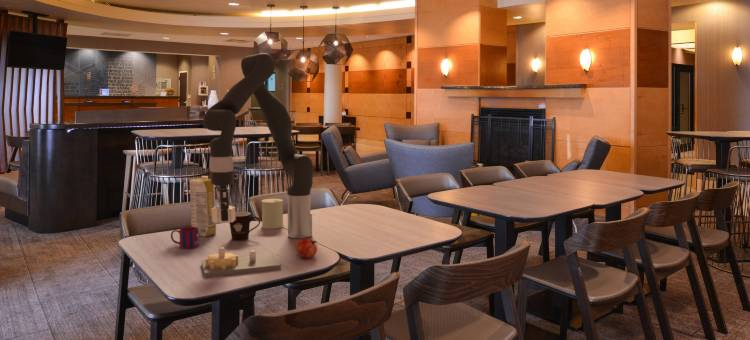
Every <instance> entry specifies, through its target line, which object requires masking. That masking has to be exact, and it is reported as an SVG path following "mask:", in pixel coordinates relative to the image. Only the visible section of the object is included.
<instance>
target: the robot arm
mask: <svg viewBox="0 0 750 340" xmlns="http://www.w3.org/2000/svg"><path fill="white" fill-rule="evenodd" d="M240 66H241V68H240V69H241V73H242V75H243V76H244V77H243V78H242V79H241V80H239V81H238V82H236V83H235V84H234V85H232V86H231V87H230V89H228V91H227V92H226V94H225V95H224V96H223V97H222V99H220V100H219V101H217V102H216V103H215V104H213V105H212V106H210V108H208V109H207V110H206V112H205V113H204V115H203V126H204V127H205V128H206V129H207V130H209V131H212V132H221V133H220V135H219V136H218V137H216V138H215V137H214V138H213V139H211V140H210V142H209V150H210V151H209V154H210V161H209V171H210V172H209V173H210V179H211V184H213V185H215V186H217V188H216V189H215V192H216V198H217V202H218V205H217V206H220V209H221V220H222V221H228V209H229V206H230V204H229V203H230V189H229V188H228V185H232V184H234V182H235V171H234V159H233V141H234V136H235V131H236V128H237V116H236V115H237V114H239V113H240V112H241V110H242V109H243V107H244V106H245V105H246V103H247V102H248V101H249V99H250V98H251V97H252V96H254V97H255V100H256V102H257V104H258V106H259V109H260V112H261V113H262V116H263V118H264V121H265V123H266V125H267V128H268V130H269V132H270V135H271V138H272V139H273V141H274V142H273V143H274V145H275V147H276V149H277V153H278V156H279V159H280V162H281V166H282V169H283V171H284V173H285V174H286V175H288V176H290V177H292V179H293V182H292V185H289V186H287V191H286V192H287V193H286V194H287V197H286V198H287V236H288V238H290V239H291V238H292V239H302V238H309V237H313V213H312V212H311V191H312V188H313V180H314V179H313V177H314V166H313V161H312V159H311V157H309V156H308V155H305V154H299V153H297V150H296V148H295V145H294V143H293V141H292V132H293V124H292V120H291V119H292V118H291V116H290V114H289V112H288V108H287V107H286V106H285V104H284V103H283V101H281V100H280V99H279V98H278V97H276V95H274V94H273V93H272V92H271V91H270V90H269V89H268V87H267V85H266V84H265V82H267V81H268V80H269V79H270V78H271V77H272V76H273V75H274V73H275V70H276V69H275V68H276V62H275V60H274V58H273V56H272V55H271V54H269V53H266V52H260V53H256V54H251V55H247V56H244V57H243V58H242V59H241V62H240Z"/></svg>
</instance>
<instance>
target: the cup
mask: <svg viewBox="0 0 750 340" xmlns="http://www.w3.org/2000/svg"><path fill="white" fill-rule="evenodd" d="M174 232H176V233H178V234H179V241H177V240H175V239H174V236H173V235H174V234H173V233H174ZM170 239H171V241H172V242H173V243H174V244H177V245H179V246H180V248H181V249H185V250H189V249H196V248H198V247H200V244H199V241H200V236H198V228H197V227H191V226H186V227H185V226H184V227H181V228H179V230H178V229H175V230H173V231H171V233H170Z"/></svg>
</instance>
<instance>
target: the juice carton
mask: <svg viewBox="0 0 750 340" xmlns="http://www.w3.org/2000/svg"><path fill="white" fill-rule="evenodd" d="M215 186H216V185H213V184H211V178H209V176H208V175H201V177H199V178H198V177H197V178H191V179H189V200H190V223H191V224H190V227H197V228H198V236H199V237H202V238H203V237H204V238H206V237H210V236H213V235H215V234H217V223H215V222H212V208H213V207H216V193H215V192H216V189H215V188H216V187H215Z"/></svg>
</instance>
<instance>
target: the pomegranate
mask: <svg viewBox="0 0 750 340" xmlns="http://www.w3.org/2000/svg"><path fill="white" fill-rule="evenodd" d="M317 243H318V241H317V240H313V239H311V238H309V237H306V238H299V239H298V241H297V242H296V243H295V249H296V252H297V253H298V254H296V257H297V256H301V258H303V259H309V258H312V257H314V256H315V255H316V254H317V252H318V251H317V250H318V246H317Z"/></svg>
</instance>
